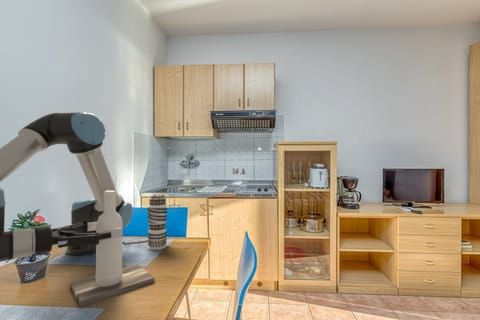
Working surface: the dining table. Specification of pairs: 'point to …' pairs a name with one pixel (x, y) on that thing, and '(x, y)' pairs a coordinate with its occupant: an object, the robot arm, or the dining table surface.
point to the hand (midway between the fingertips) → (114, 227)
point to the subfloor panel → (91, 292)
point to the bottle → (109, 245)
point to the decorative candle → (157, 222)
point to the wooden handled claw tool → (134, 242)
